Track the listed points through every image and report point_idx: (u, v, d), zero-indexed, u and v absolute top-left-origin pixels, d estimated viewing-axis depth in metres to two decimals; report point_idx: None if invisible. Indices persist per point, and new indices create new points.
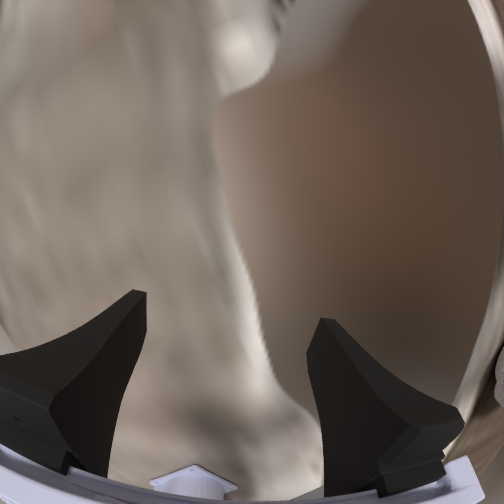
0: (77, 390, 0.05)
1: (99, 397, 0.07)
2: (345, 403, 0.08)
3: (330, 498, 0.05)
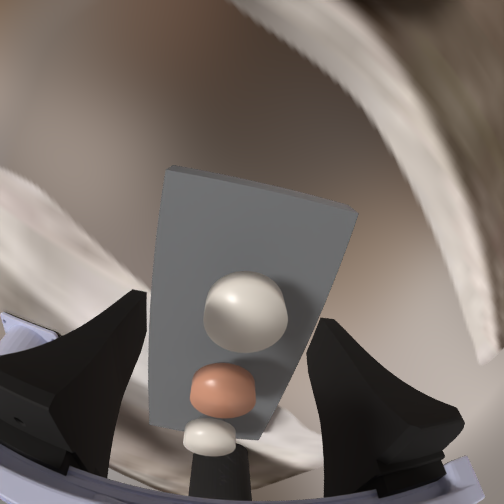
0: (77, 390, 0.05)
1: (99, 397, 0.07)
2: (345, 403, 0.08)
3: (330, 498, 0.05)
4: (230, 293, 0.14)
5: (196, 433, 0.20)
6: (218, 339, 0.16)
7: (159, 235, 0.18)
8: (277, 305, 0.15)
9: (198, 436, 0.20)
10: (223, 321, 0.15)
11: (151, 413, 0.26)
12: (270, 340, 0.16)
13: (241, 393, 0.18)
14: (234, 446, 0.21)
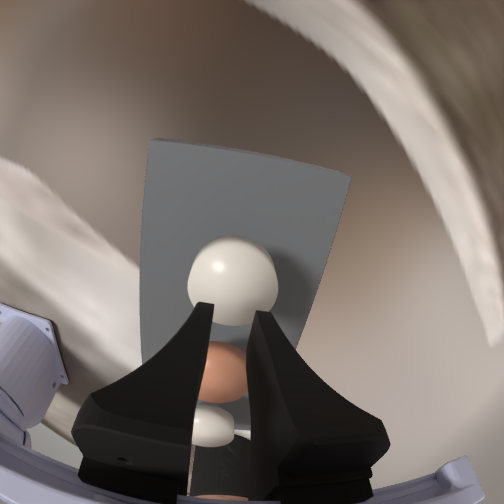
0: (193, 417, 0.06)
1: None
2: (264, 401, 0.08)
3: None
4: (214, 257, 0.14)
5: None
6: None
7: (145, 207, 0.17)
8: (265, 269, 0.14)
9: None
10: (208, 289, 0.14)
11: None
12: (260, 310, 0.15)
13: (234, 373, 0.17)
14: (232, 435, 0.20)
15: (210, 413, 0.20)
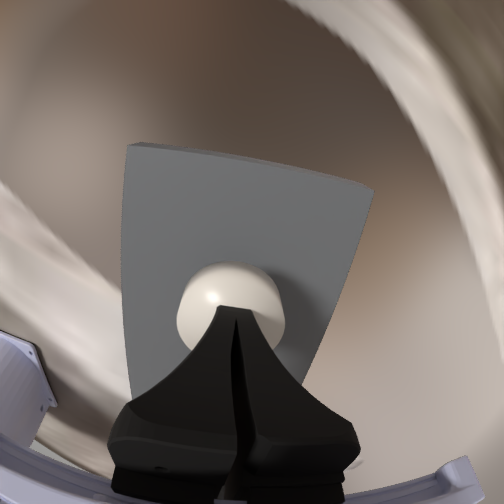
0: None
1: None
2: (237, 399, 0.08)
3: None
4: (207, 290, 0.11)
5: None
6: None
7: (124, 228, 0.14)
8: (269, 303, 0.11)
9: None
10: (202, 326, 0.12)
11: None
12: None
13: None
14: None
15: None
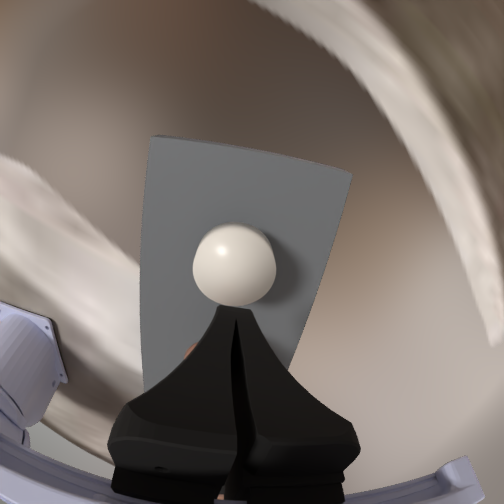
0: None
1: None
2: (237, 399, 0.08)
3: None
4: (217, 240, 0.15)
5: None
6: (208, 291, 0.16)
7: (146, 204, 0.17)
8: (264, 251, 0.15)
9: None
10: (212, 270, 0.16)
11: None
12: (260, 291, 0.16)
13: None
14: None
15: None
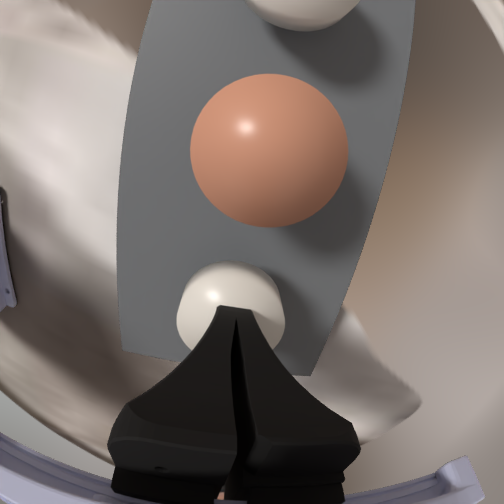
0: None
1: None
2: (237, 399, 0.08)
3: None
4: None
5: (203, 283, 0.11)
6: None
7: None
8: None
9: (208, 292, 0.11)
10: None
11: (123, 320, 0.16)
12: (345, 1, 0.07)
13: (316, 121, 0.07)
14: (282, 324, 0.12)
15: (242, 270, 0.12)
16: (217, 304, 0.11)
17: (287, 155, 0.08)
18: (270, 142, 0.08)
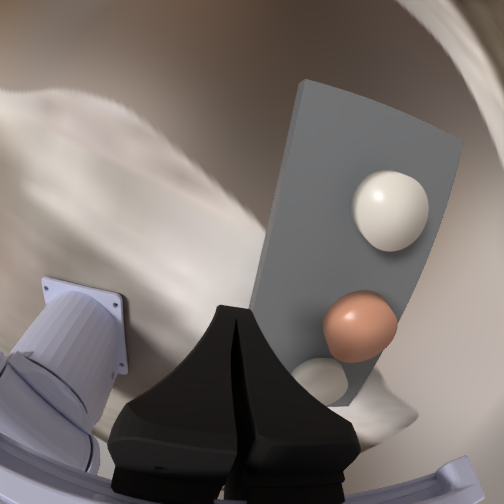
0: None
1: None
2: (237, 399, 0.08)
3: None
4: (388, 181, 0.14)
5: (311, 375, 0.20)
6: (371, 235, 0.15)
7: (294, 147, 0.16)
8: (422, 196, 0.14)
9: (313, 378, 0.20)
10: (378, 212, 0.15)
11: None
12: (413, 235, 0.15)
13: (386, 322, 0.16)
14: (346, 388, 0.20)
15: (329, 365, 0.20)
16: (316, 383, 0.20)
17: (370, 336, 0.16)
18: (364, 333, 0.16)
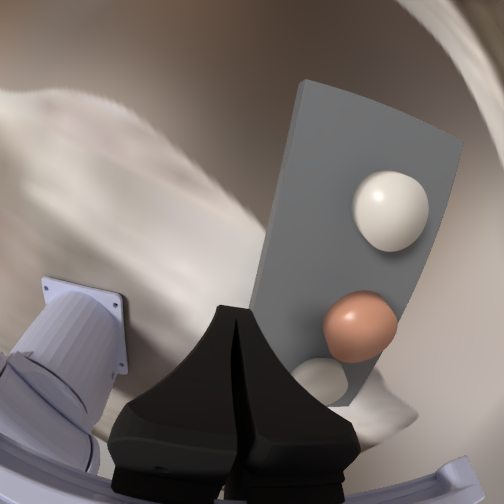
0: None
1: None
2: (237, 399, 0.08)
3: None
4: (388, 181, 0.14)
5: (311, 375, 0.20)
6: (371, 235, 0.15)
7: (294, 147, 0.16)
8: (422, 196, 0.14)
9: (313, 378, 0.20)
10: (379, 212, 0.15)
11: None
12: (413, 236, 0.15)
13: (386, 322, 0.16)
14: (346, 388, 0.20)
15: (329, 365, 0.20)
16: (316, 383, 0.20)
17: (370, 336, 0.16)
18: (364, 333, 0.16)
